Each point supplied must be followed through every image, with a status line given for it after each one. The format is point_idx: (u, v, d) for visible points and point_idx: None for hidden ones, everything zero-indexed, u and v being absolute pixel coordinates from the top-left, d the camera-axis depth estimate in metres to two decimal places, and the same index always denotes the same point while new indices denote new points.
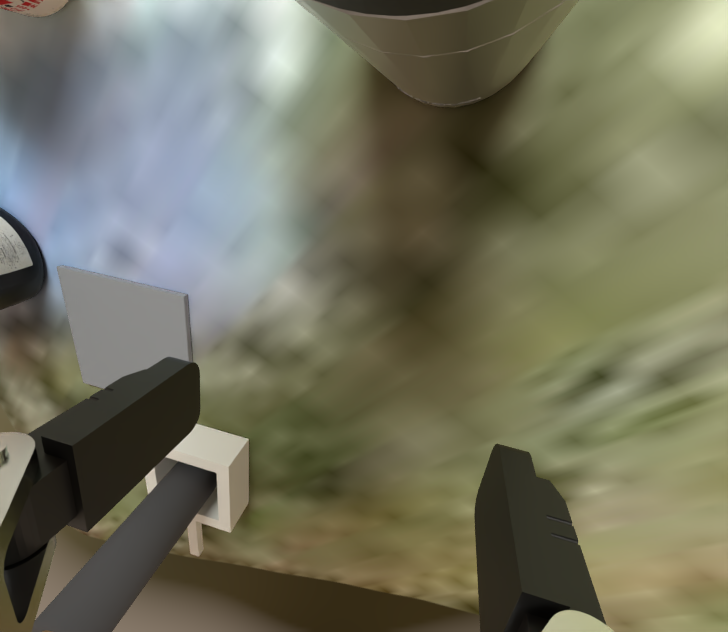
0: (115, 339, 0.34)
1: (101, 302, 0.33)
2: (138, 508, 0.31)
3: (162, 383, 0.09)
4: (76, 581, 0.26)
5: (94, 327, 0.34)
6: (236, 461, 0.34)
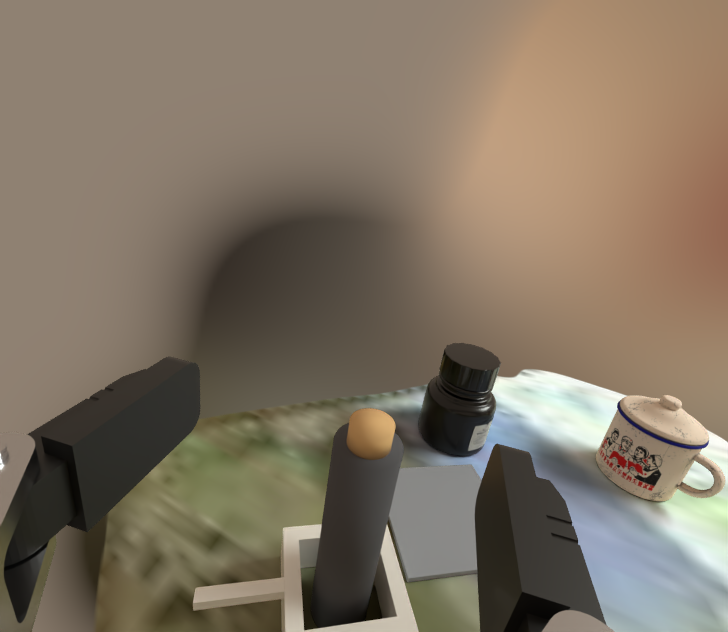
0: (442, 500, 0.40)
1: (467, 492, 0.42)
2: None
3: (162, 383, 0.09)
4: None
5: (440, 484, 0.42)
6: None
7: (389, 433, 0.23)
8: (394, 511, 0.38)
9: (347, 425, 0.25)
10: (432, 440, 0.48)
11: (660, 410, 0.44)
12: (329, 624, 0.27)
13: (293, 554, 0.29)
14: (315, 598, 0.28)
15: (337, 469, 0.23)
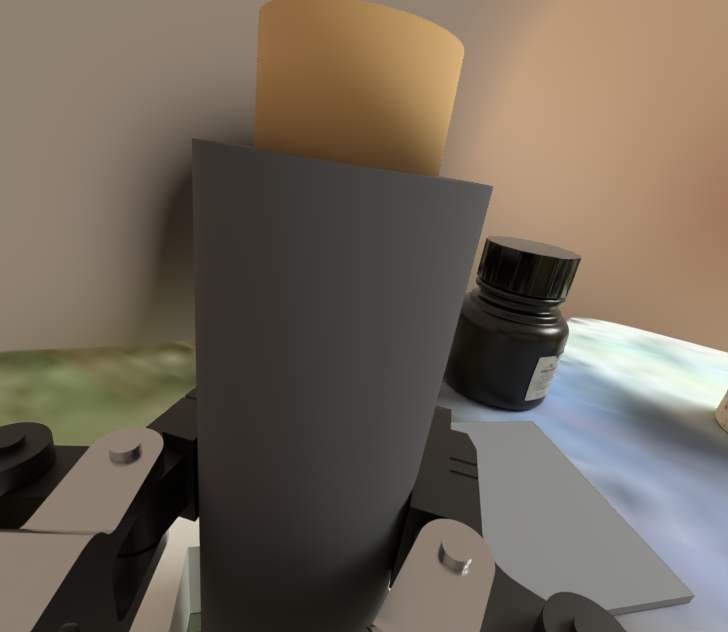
0: (495, 475, 0.22)
1: (536, 462, 0.24)
2: None
3: None
4: None
5: (487, 449, 0.24)
6: None
7: None
8: None
9: None
10: (466, 385, 0.30)
11: None
12: None
13: (162, 585, 0.11)
14: None
15: (200, 230, 0.05)
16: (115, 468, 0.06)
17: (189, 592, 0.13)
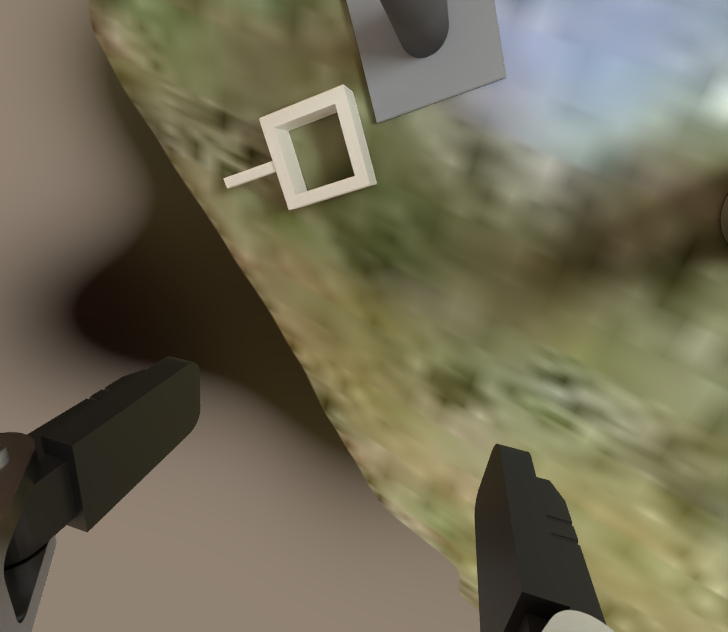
0: None
1: None
2: None
3: (162, 383, 0.09)
4: None
5: None
6: (366, 186, 0.38)
7: None
8: (365, 46, 0.35)
9: None
10: None
11: None
12: (414, 53, 0.33)
13: (273, 141, 0.37)
14: (398, 38, 0.32)
15: None
16: None
17: (283, 130, 0.39)
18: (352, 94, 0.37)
